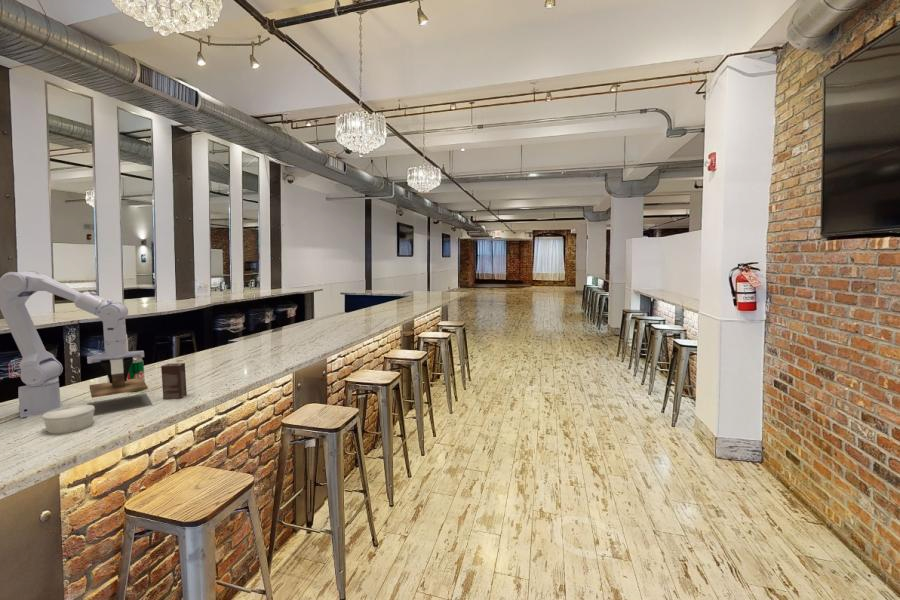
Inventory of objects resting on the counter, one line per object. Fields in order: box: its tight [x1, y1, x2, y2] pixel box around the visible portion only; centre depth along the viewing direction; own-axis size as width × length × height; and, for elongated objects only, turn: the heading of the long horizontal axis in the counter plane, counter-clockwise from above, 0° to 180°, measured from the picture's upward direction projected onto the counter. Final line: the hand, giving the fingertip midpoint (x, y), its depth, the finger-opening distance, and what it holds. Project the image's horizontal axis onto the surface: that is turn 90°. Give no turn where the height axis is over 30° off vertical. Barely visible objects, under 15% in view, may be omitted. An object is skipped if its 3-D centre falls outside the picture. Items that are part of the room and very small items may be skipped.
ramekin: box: [42, 404, 95, 434], centre depth 122 cm, size 11×11×5 cm
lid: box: [89, 373, 149, 399], centre depth 140 cm, size 14×14×4 cm
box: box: [160, 362, 188, 400], centre depth 148 cm, size 6×4×12 cm
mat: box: [86, 393, 154, 417], centre depth 141 cm, size 16×16×1 cm
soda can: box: [127, 357, 146, 393], centre depth 155 cm, size 5×5×12 cm
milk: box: [106, 333, 129, 383], centre depth 162 cm, size 6×6×22 cm
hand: (118, 381), depth 140 cm, fingers closed on lid, 3 cm apart
